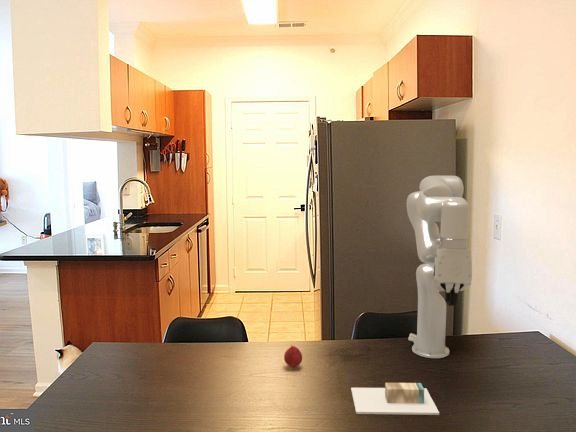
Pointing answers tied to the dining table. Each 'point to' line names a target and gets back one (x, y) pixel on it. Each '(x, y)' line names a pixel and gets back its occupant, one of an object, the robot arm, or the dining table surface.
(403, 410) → the mat
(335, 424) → the dining table surface
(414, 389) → the block
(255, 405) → the dining table surface
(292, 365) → the onion
